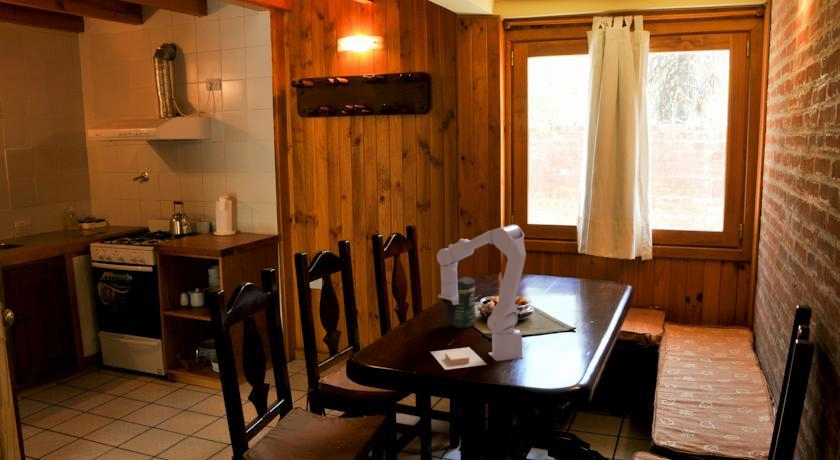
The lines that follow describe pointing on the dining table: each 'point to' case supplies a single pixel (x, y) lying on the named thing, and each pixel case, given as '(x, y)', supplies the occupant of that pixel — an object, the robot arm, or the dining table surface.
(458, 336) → the dining table surface
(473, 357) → the mat
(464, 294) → the coffee jar
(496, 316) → the robot arm
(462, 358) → the tile
